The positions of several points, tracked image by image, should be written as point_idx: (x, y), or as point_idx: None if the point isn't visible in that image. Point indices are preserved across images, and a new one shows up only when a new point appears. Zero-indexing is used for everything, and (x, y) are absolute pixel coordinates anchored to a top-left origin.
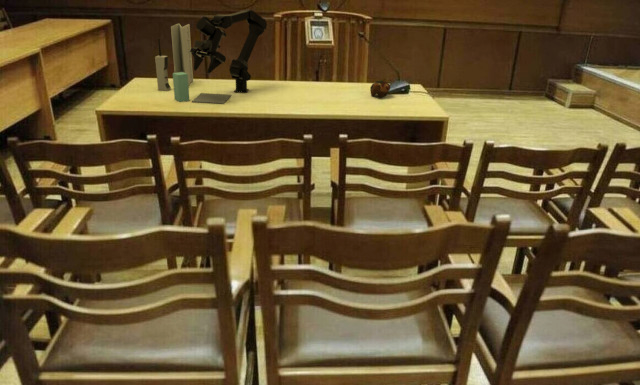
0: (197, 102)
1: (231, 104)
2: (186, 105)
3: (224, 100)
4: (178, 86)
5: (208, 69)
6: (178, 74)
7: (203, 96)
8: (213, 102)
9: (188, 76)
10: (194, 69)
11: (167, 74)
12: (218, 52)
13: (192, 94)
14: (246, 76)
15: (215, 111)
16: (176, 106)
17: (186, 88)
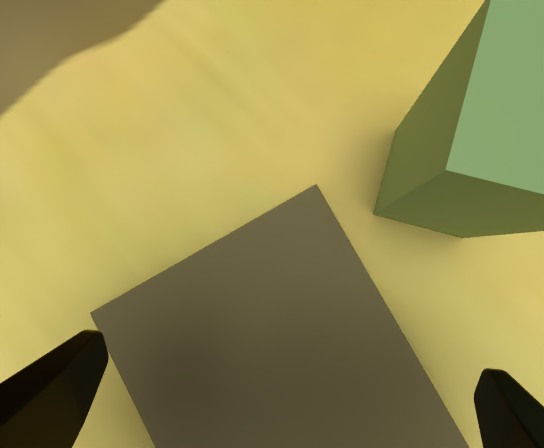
0: (275, 209)
1: (46, 344)
2: (280, 97)
3: (131, 375)
4: (435, 74)
5: (45, 367)
6: (526, 30)
7: (356, 363)
8: (160, 273)
9: None
10: (485, 372)
11: None
12: None
13: None
14: None
15: (15, 126)
16: (315, 29)
17: (401, 176)
